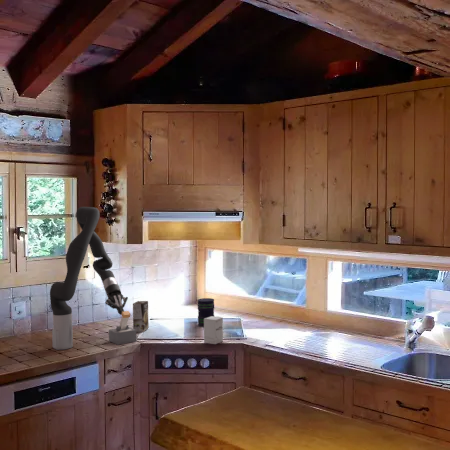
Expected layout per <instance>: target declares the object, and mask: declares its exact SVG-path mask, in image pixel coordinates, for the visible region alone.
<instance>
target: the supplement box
mask: <svg viewBox="0 0 450 450" xmlns="http://www.w3.org/2000/svg"><path fill="white" fill-rule="evenodd" d="M223 324H224V323H223V317H222V316H215V315H214V316H211V317H208V318H205V319H204V327H203V343H205V344H211V345H217V344H219V343H222V342H223V341H224V326H223Z"/></svg>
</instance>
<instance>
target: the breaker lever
mask: <svg viewBox="0 0 450 450" xmlns="http://www.w3.org/2000/svg"><path fill="white" fill-rule="evenodd" d="M120 316H121V318H120V321H119V325H118V326H120V330H121V329H126V326H127V325H128V322H129V320H130V319H129V318H131V312H130V311H129V310H126V311H125V310H124V312H122V314H121V315H120Z"/></svg>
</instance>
